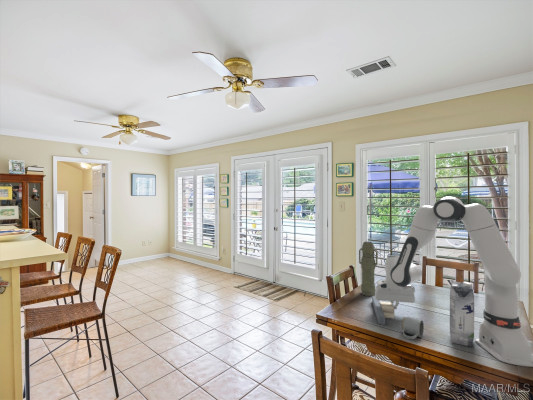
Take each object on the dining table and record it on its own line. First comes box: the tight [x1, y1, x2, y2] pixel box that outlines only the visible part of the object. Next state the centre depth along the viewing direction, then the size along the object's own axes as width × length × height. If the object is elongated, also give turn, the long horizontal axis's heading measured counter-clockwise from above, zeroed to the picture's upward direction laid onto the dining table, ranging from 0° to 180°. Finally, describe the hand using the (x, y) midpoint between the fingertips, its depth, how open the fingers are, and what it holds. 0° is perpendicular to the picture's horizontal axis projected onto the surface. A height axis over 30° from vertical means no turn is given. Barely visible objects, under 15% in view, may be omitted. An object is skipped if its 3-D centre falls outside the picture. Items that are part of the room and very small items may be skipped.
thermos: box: [358, 241, 379, 297], centre depth 184 cm, size 9×12×35 cm
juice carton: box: [449, 280, 475, 348], centre depth 124 cm, size 9×10×27 cm
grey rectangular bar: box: [371, 296, 386, 326], centre depth 155 cm, size 30×3×4 cm, turn 165°
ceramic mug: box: [401, 316, 425, 340], centre depth 130 cm, size 11×8×8 cm
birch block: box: [379, 300, 395, 319], centre depth 153 cm, size 10×6×5 cm, turn 165°
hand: (394, 308), depth 153 cm, fingers closed
